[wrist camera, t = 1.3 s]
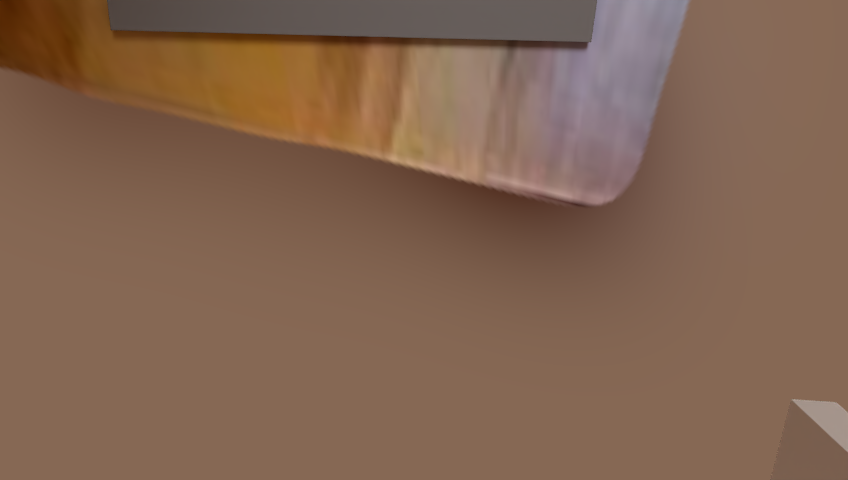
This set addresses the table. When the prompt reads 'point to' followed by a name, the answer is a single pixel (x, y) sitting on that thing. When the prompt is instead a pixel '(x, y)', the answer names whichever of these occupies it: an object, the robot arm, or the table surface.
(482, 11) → the mat
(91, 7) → the table surface
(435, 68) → the table surface
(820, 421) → the robot arm
